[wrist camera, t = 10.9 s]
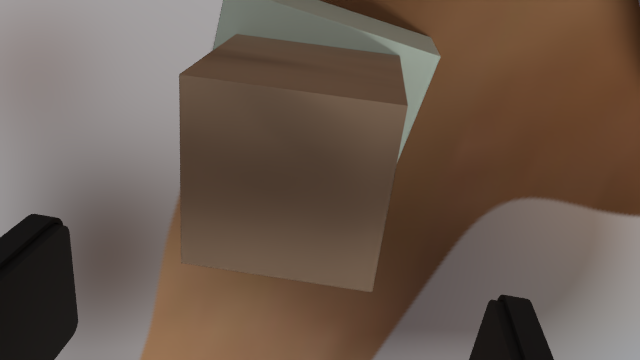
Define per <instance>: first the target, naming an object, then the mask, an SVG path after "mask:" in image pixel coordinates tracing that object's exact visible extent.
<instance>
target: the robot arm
mask: <svg viewBox="0 0 640 360" xmlns="http://www.w3.org/2000/svg"><path fill="white" fill-rule="evenodd" d="M77 324H78V315H77V304H76V294H75V284H74V274H73V264H72V254H71V244H70V234H69V229H68V227H66V226H63V223H62V221H61V220H60V219H59V218H55V217H50V216H44V215H38V214H31V215H29V216H27V217H26V218H25V219H23V220H22V221H21V222H20V223H18V224H17V225H16V226H14V227H13V228H12V229H11V230H9V231H8V232H7V233H6V234H4V235H3V236H2V237H0V360H54V359H55V358H56V357H57V356H58V354H59V353H60V351H61V350H62V349H63V347H65V345H66V344H67V343H68V341H69V340H70V339H71V337H72V336H73V335H74V333H75V331H76V328H77ZM469 360H554V359H553V356H552V354H551V351H550V349H549V346H548V344H547V341H546V339H545V336H544V334H543V331H542V329H541V326H540V323H539V321H538V318H537V316H536V313H535V311H534V309H533V306H532V303H531V302H530V300H528V299H525V298H519V297H513V296H507V295H500V297H499V298H498V300H497V301H496V300H490V301H489V303H488V305H487V308H486V311H485V314H484V317H483V320H482V324H481V326H480V329H479V332H478V335H477V338H476V341H475V344H474V347H473V350H472V353H471V355H470V359H469Z"/></svg>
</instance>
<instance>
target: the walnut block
mask: <svg viewBox="0 0 640 360" xmlns="http://www.w3.org/2000/svg"><path fill="white" fill-rule="evenodd" d="M179 84H180V85H179V86H180V87H179V89H180V188H181V263H185V264H191V265H198V266H204V267H211V268H217V269H224V270H230V271H237V272H243V273H250V274H256V275H263V276H269V277H276V278H282V279H289V280H295V281H302V282H308V283H315V284H321V285H328V286H334V287H341V288H347V289H354V290H360V291H367V292H372V290H373V285H374V280H375V274H376V269H377V264H378V259H379V254H380V248H381V243H382V238H383V233H384V228H385V222H386V217H387V212H388V207H389V202H390V196H391V191H392V186H393V181H394V176H395V170H396V165H397V160H398V155H399V150H400V144H401V139H402V134H403V129H404V124H405V118H406V113H407V108H408V103H407V97H406V91H405V85H404V79H403V73H402V67H401V60H400V56H399V55H391V54H384V53H376V52H369V51H361V50H354V49H346V48H339V47H331V46H324V45H316V44H308V43H301V42H293V41H286V40H278V39H271V38H263V37H256V36H248V35H241V34H235V35H234V36H233V37H231V38H230V39H228V40H227V41H226V42H224V43H223V44H221V45H220V46H219V47H217V48H216V49H214V50H213V51H212V52H210V53H209V54H207V55H206V56H205V57H203V58H202V59H200V60H199V61H198V62H196V63H195V64H193V65H192V66H191V67H189V68H188V69H186V70H185V71H184V72H182V73H181V74H180V75H179Z"/></svg>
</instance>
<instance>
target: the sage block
mask: <svg viewBox="0 0 640 360" xmlns="http://www.w3.org/2000/svg"><path fill="white" fill-rule="evenodd" d="M235 34H241V35H248V36H256V37H263V38H271V39H278V40H286V41H293V42H301V43H308V44H316V45H324V46H331V47H339V48H346V49H354V50H361V51H369V52H376V53H384V54H391V55H399V56H400V60H401V67H402V73H403V79H404V85H405V91H406V97H407V103H408V108H407V113H406V118H405V124H404V129H403V134H402V139H401V144H400V150H399V155H398V159H399V157H400V154H401V152H402V150H403V147H404V145H405V142H406V140H407V137H408V135H409V133H410V130H411V128H412V125H413V123H414V120H415V118H416V115H417V113H418V111H419V108H420V106H421V103H422V101H423V98H424V96H425V93H426V91H427V89H428V86H429V84H430V81H431V79H432V76H433V74H434V71H435V69H436V67H437V64H438V62H439V59H440V57H441V56H440V54H439V52H438V50H437V49H436V47H435V45H434V43H433V41H432V39H431V37H428V36H425V35H422V34H419V33H416V32H413V31H410V30H407V29H404V28H401V27H398V26H395V25H392V24H389V23H386V22H383V21H380V20H377V19H374V18H371V17H368V16H365V15H362V14H359V13H356V12H353V11H350V10H347V9H344V8H341V7H338V6H335V5H332V4H329V3H326V2H323V1H320V0H223V4H222V9H221V14H220V19H219V23H218V28H217V33H216V38H215V43H214V48H213V50H214V49H216V48H217V47H219V46H220V45H221V44H223V43H224V42H226V41H227V40H228V39H230V38H231V37H233V36H234V35H235ZM397 162H398V160H397Z"/></svg>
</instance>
